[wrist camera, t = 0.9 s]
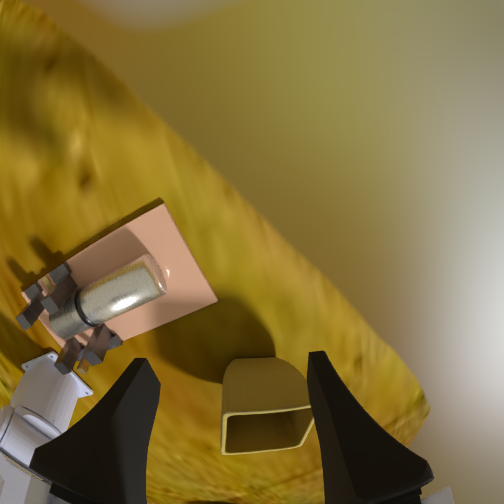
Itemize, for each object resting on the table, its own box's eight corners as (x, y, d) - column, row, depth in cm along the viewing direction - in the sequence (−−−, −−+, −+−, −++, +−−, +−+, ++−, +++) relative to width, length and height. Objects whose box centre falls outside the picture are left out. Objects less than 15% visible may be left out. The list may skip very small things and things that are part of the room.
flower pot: (297, 342, 29) (324, 404, 20) (283, 391, 32) (301, 448, 24) (216, 344, 27) (222, 413, 19) (215, 394, 30) (220, 455, 22)
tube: (79, 331, 23) (60, 344, 19) (63, 300, 23) (43, 309, 19) (171, 289, 23) (158, 301, 19) (152, 251, 22) (137, 256, 19)
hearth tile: (74, 357, 26) (72, 359, 25) (23, 291, 22) (21, 293, 21) (217, 298, 25) (218, 301, 25) (164, 202, 21) (163, 203, 21)
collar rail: (79, 357, 25) (67, 384, 21) (26, 288, 21) (6, 310, 17) (123, 341, 25) (113, 370, 21) (65, 261, 21) (43, 282, 17)
